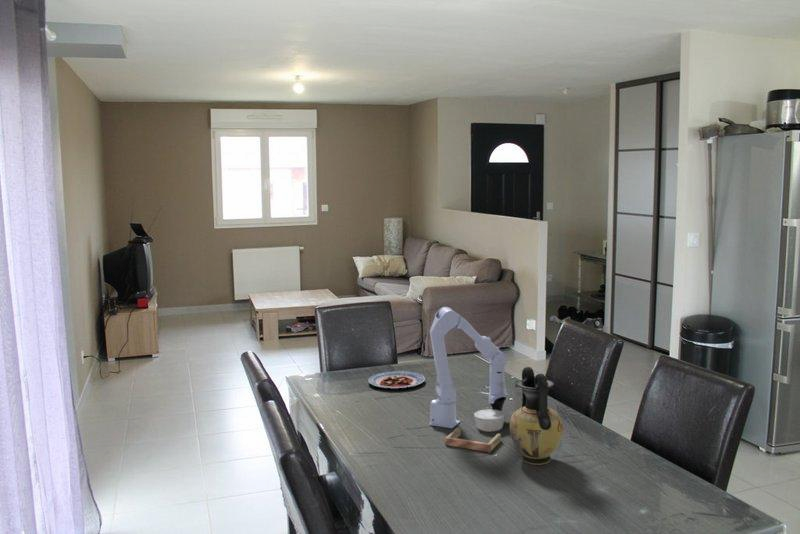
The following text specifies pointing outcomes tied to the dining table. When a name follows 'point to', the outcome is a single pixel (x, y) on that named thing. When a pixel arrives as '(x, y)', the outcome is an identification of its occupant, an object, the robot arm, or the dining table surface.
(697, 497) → the dining table surface
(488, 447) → the dock
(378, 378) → the ceramic plate
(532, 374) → the amphora
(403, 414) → the dining table surface
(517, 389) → the coffee box
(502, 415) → the ramekin
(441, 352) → the robot arm
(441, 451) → the dining table surface
